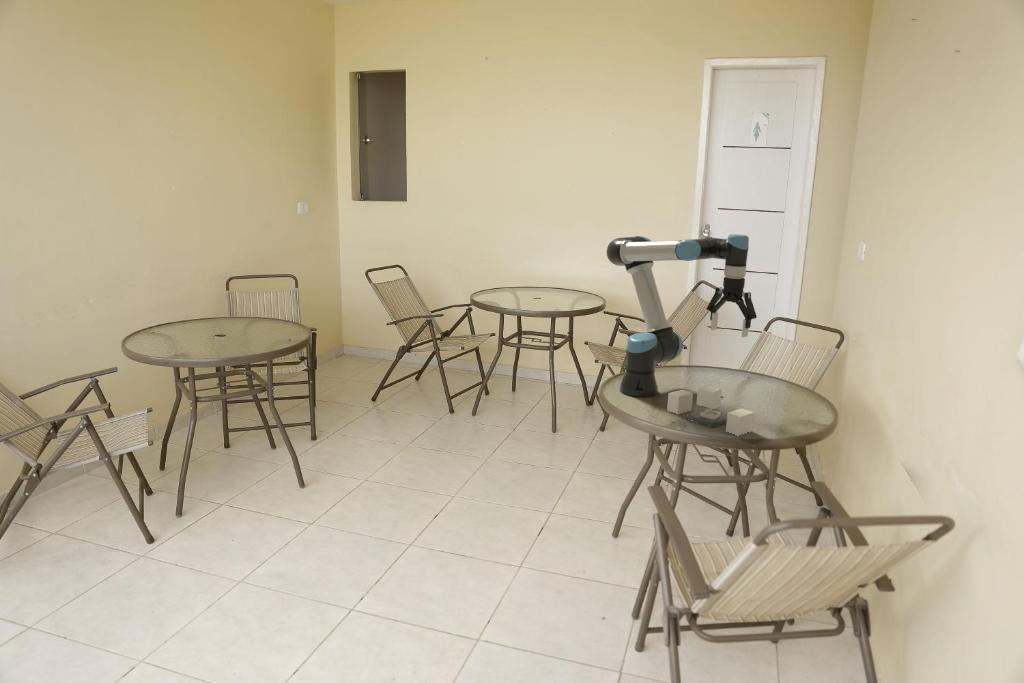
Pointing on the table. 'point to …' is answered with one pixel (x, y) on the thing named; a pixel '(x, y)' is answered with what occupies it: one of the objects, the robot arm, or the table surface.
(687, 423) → the table surface
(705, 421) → the mount plate
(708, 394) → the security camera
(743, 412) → the mounted modules
